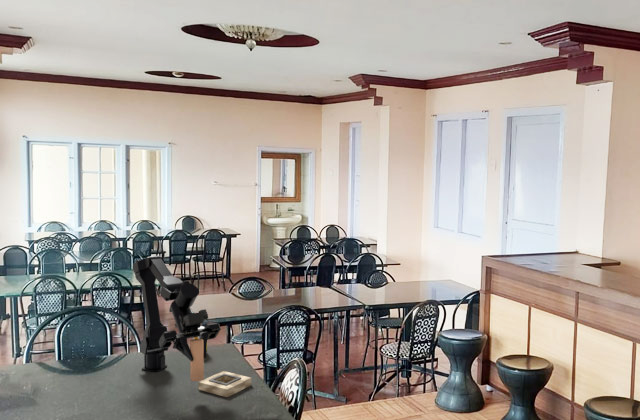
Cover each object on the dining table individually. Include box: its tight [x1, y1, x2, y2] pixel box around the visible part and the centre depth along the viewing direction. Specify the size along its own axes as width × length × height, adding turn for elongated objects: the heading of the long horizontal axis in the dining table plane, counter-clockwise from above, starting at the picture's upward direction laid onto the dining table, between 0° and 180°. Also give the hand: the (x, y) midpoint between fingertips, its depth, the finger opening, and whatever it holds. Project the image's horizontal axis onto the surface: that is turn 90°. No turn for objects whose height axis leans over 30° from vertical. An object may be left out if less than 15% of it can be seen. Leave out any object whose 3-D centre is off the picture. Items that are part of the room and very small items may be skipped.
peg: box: [189, 339, 205, 382], centre depth 176 cm, size 4×4×12 cm
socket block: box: [198, 370, 252, 398], centre depth 187 cm, size 12×12×3 cm
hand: (199, 359), depth 175 cm, fingers closed on peg, 4 cm apart
